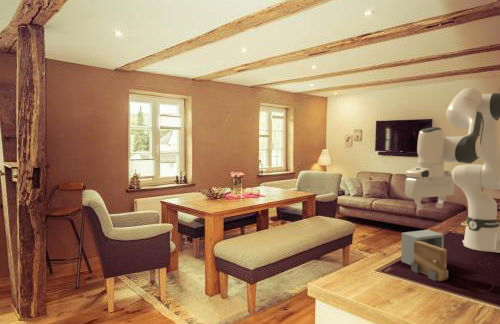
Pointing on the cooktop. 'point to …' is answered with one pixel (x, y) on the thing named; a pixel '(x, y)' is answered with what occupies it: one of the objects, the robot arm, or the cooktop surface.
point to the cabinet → (414, 236)
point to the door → (430, 259)
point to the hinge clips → (431, 273)
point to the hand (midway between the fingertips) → (429, 208)
